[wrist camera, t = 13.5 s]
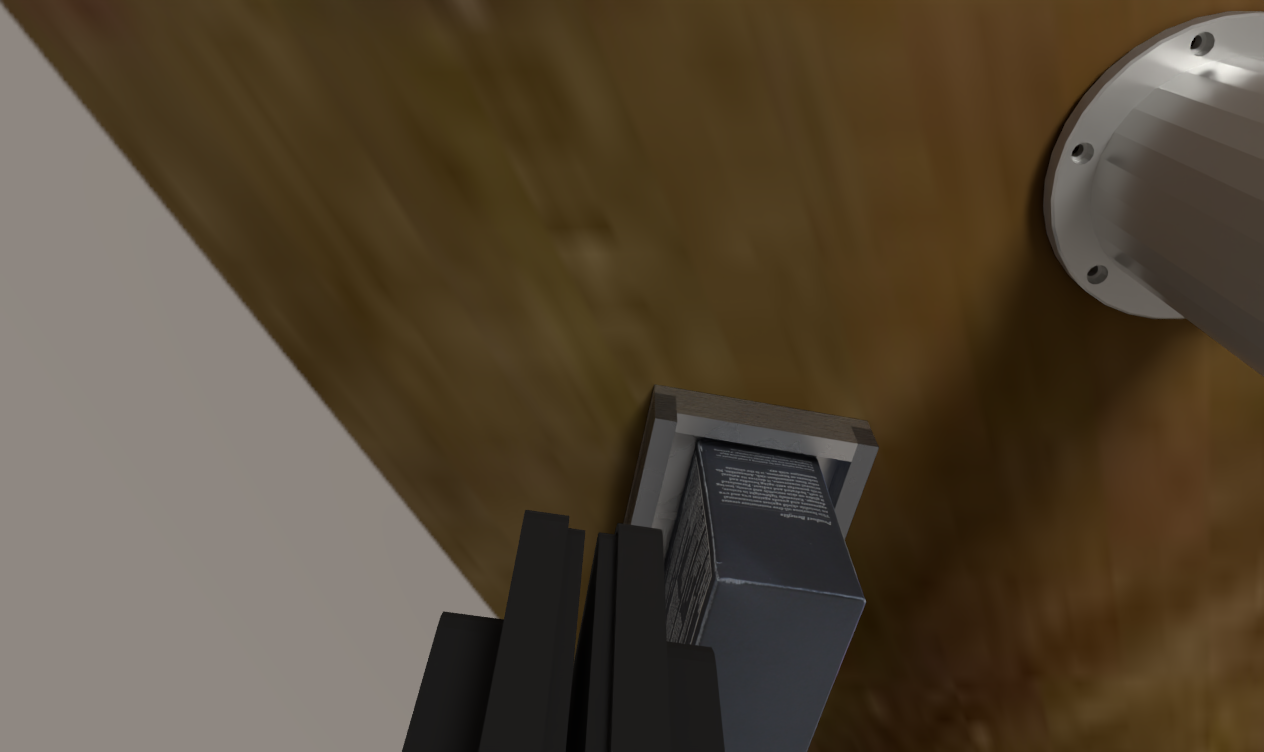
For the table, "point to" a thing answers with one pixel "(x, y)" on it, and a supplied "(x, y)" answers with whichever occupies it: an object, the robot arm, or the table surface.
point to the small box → (762, 589)
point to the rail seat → (707, 416)
